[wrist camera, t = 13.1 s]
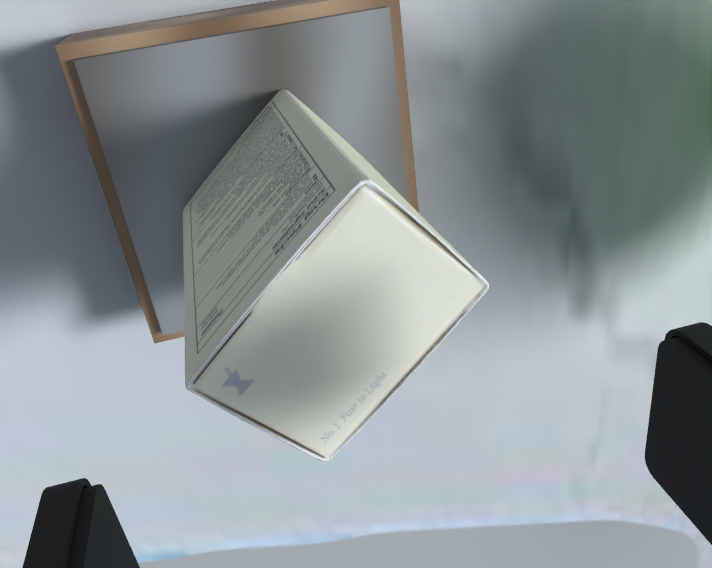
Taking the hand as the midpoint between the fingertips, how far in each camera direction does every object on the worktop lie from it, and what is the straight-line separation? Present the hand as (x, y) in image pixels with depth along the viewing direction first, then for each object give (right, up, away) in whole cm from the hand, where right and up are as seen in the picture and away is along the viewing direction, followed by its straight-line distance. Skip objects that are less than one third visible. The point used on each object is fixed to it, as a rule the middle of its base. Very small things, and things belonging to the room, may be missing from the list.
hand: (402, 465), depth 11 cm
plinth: (-5, +9, +18) cm, 20 cm away
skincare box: (-4, +7, +15) cm, 17 cm away
